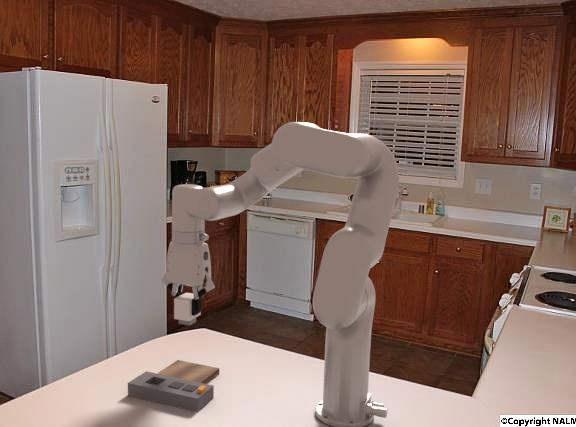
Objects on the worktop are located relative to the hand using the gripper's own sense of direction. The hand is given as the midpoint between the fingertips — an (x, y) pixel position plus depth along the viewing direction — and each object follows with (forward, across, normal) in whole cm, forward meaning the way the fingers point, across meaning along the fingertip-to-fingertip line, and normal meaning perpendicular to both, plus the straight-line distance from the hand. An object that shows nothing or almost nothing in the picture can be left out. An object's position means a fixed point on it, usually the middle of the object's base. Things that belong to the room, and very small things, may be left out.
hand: (187, 311), depth 137 cm
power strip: (+16, -2, +10) cm, 20 cm away
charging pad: (+16, 0, 0) cm, 16 cm away
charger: (+3, 0, 0) cm, 3 cm away
